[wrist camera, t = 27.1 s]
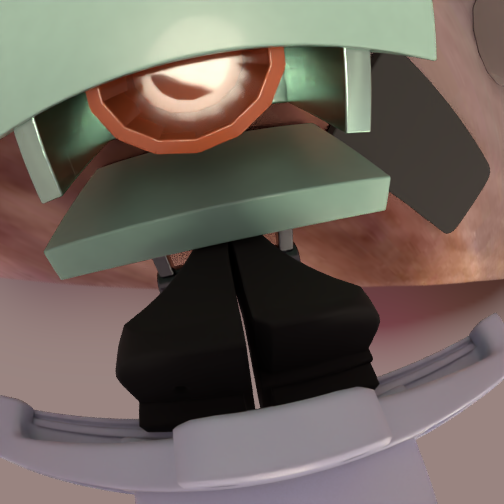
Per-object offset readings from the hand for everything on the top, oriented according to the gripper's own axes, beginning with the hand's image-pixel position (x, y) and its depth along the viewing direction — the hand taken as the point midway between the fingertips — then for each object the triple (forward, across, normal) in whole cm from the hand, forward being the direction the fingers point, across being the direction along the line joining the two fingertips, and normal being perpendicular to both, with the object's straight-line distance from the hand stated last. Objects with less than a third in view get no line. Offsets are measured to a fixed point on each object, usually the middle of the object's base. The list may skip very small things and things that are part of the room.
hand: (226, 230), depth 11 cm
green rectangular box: (+4, +1, -13) cm, 14 cm away
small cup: (+2, +1, -7) cm, 7 cm away
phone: (+4, -14, -1) cm, 14 cm away
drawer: (+3, +1, -5) cm, 6 cm away
